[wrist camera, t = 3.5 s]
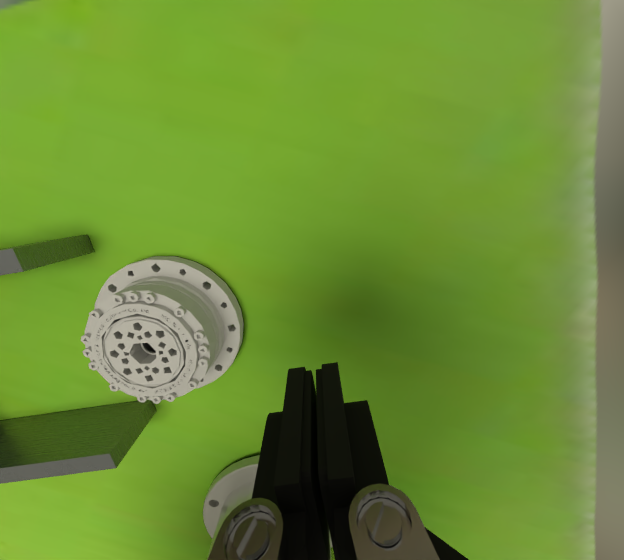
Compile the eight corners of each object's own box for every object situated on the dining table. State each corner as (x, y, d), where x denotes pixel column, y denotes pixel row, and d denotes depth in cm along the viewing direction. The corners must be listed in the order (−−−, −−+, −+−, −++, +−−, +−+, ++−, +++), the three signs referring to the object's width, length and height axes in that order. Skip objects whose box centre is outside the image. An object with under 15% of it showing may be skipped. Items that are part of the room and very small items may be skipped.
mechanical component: (124, 381, 23) (250, 377, 23) (81, 424, 18) (236, 420, 18) (92, 257, 20) (237, 252, 20) (33, 274, 16) (216, 269, 15)
